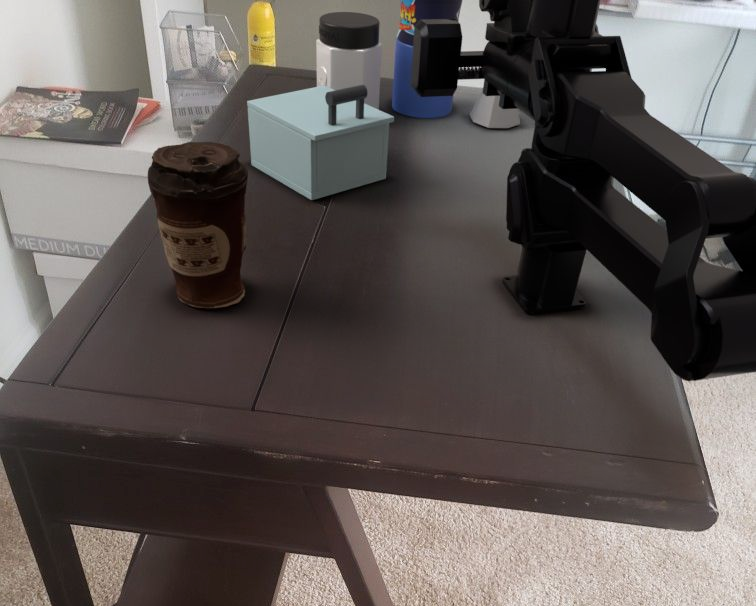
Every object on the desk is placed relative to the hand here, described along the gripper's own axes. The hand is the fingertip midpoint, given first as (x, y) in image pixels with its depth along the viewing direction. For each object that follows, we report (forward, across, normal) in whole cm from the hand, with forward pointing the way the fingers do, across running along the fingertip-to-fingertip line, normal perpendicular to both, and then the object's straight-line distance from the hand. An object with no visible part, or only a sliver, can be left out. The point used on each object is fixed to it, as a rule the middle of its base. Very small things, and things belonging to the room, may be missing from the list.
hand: (473, 36), depth 79 cm
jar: (+28, +6, +16) cm, 33 cm away
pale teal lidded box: (+9, +15, +16) cm, 24 cm away
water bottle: (+30, -6, +16) cm, 34 cm away
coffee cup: (-18, +32, +17) cm, 41 cm away
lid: (+8, +15, +9) cm, 20 cm away
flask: (+23, -15, +16) cm, 32 cm away
